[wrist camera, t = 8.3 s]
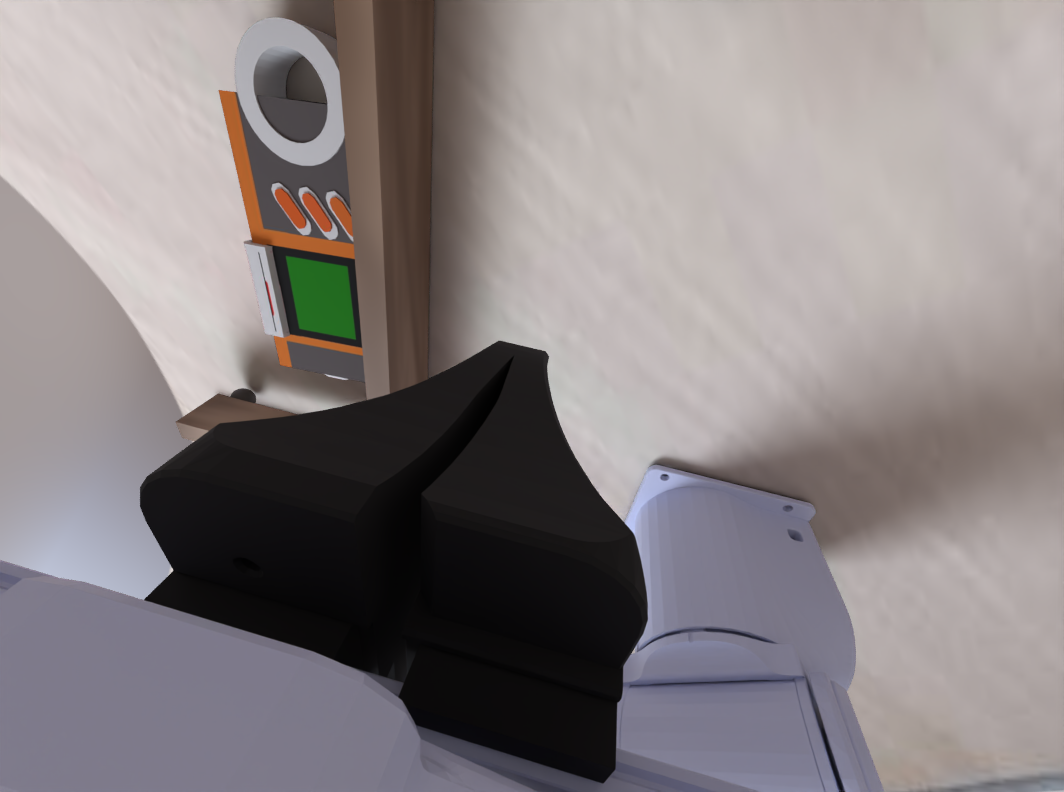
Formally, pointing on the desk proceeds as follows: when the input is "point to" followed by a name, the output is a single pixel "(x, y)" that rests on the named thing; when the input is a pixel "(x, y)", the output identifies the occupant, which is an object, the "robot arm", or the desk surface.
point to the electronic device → (296, 199)
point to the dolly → (377, 197)
